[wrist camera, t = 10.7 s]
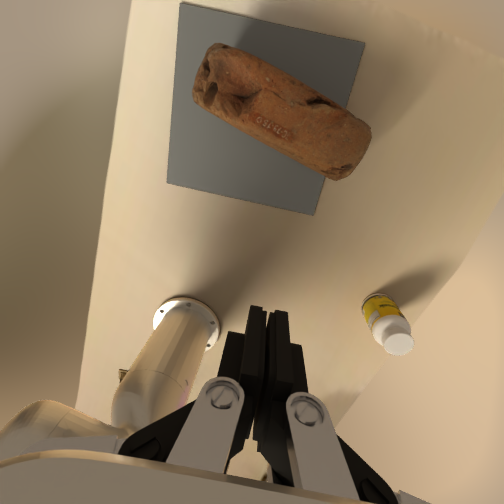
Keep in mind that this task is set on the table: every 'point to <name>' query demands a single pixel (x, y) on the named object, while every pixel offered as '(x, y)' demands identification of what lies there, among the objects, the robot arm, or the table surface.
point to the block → (280, 111)
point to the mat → (230, 138)
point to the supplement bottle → (387, 324)
